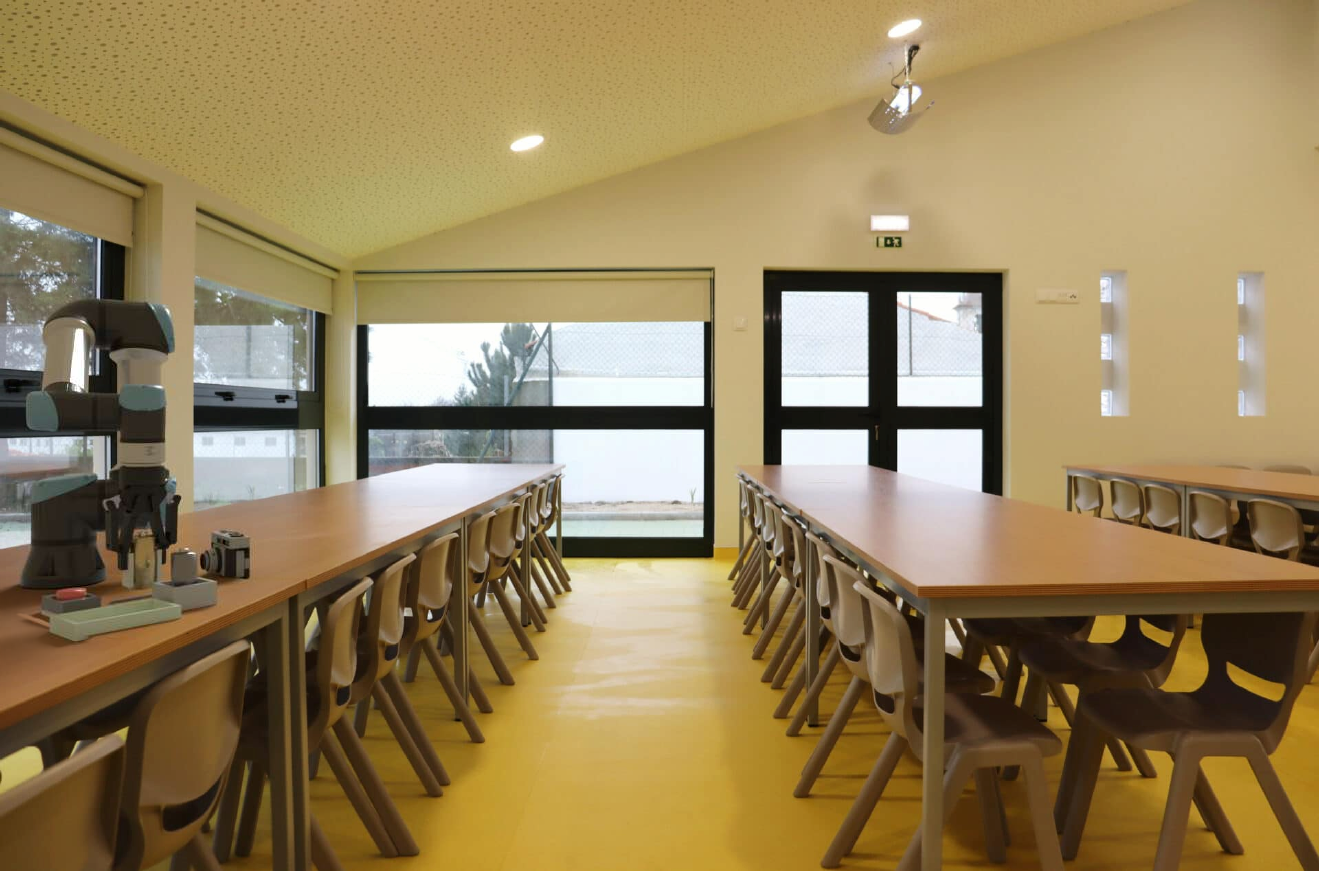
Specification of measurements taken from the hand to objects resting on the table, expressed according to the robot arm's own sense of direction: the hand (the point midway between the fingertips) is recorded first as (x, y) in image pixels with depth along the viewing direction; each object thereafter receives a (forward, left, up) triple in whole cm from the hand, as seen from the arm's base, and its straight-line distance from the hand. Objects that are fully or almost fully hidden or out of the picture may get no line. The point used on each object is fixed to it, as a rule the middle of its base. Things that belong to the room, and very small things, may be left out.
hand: (142, 583), depth 157 cm
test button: (0, -12, -1) cm, 12 cm away
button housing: (0, -12, -4) cm, 12 cm away
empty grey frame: (+1, 0, -4) cm, 4 cm away
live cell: (0, 0, -1) cm, 1 cm away
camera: (-15, +24, -4) cm, 29 cm away
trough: (+14, -10, -4) cm, 18 cm away
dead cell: (+10, +3, -3) cm, 11 cm away
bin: (+10, +3, -4) cm, 11 cm away
